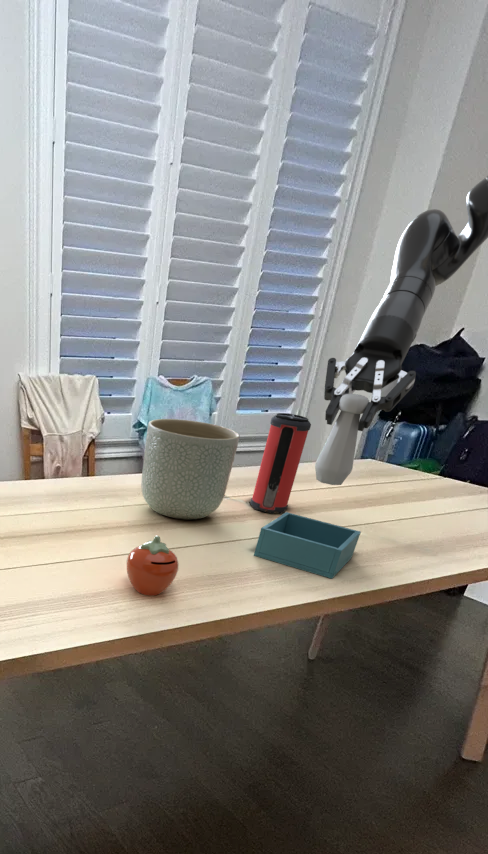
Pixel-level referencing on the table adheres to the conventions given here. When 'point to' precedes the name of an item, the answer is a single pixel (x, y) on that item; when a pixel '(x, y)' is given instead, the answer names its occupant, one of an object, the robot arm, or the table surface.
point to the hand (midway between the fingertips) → (345, 423)
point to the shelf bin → (307, 544)
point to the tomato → (152, 567)
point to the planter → (187, 467)
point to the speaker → (280, 462)
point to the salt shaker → (341, 442)
